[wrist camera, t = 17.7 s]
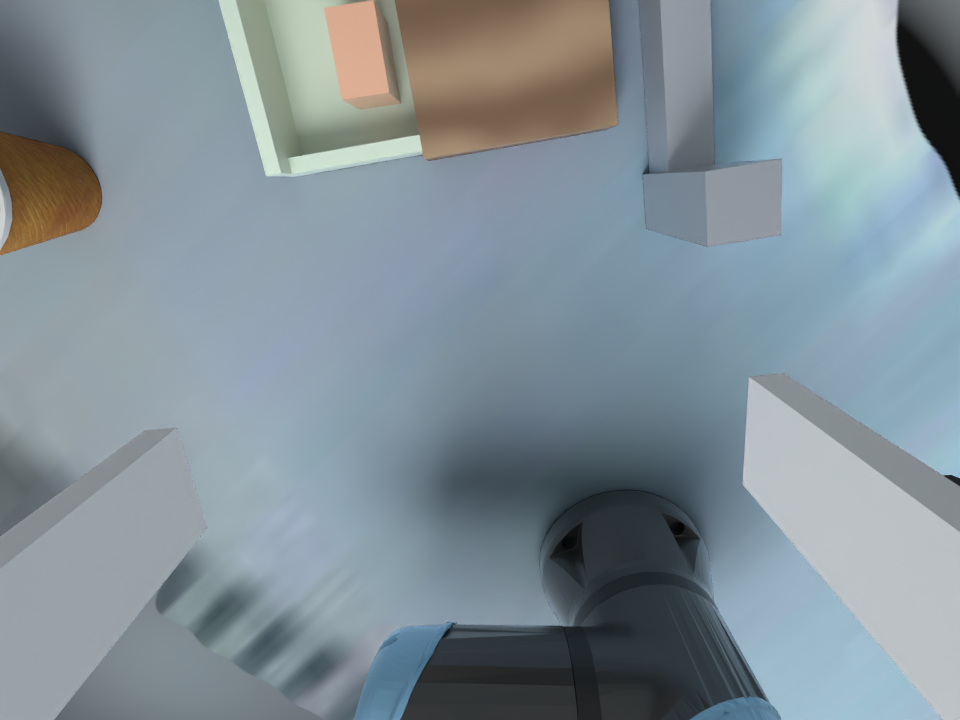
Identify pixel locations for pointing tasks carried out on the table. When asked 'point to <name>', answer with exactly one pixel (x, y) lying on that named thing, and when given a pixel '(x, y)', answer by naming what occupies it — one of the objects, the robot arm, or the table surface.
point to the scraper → (695, 138)
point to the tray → (312, 90)
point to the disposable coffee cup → (43, 192)
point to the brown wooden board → (507, 71)
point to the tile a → (363, 55)
